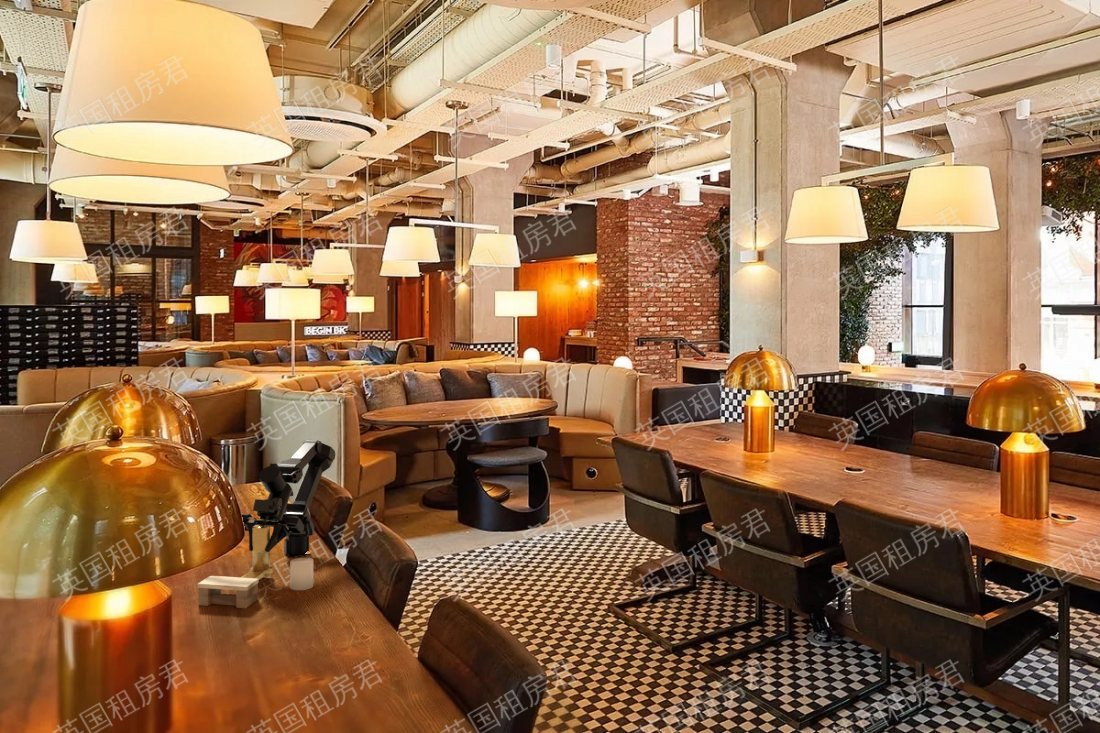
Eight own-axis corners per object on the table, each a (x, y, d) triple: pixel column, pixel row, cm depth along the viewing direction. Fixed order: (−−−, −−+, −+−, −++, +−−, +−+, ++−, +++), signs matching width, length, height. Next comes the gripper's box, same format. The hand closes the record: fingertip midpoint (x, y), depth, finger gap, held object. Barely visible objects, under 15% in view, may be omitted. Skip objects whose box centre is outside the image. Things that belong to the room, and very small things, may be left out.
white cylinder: (309, 581, 208) (309, 556, 208) (316, 587, 203) (316, 562, 203) (287, 584, 205) (287, 559, 204) (293, 591, 200) (293, 566, 199)
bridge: (210, 596, 195) (210, 575, 195) (258, 599, 194) (258, 578, 193) (197, 605, 189) (197, 583, 189) (246, 608, 188) (246, 586, 188)
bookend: (256, 568, 212) (256, 523, 211) (276, 569, 211) (276, 524, 210) (235, 582, 200) (234, 535, 200) (256, 584, 200) (256, 536, 199)
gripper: (236, 485, 212) (215, 534, 202) (299, 488, 210) (281, 538, 200) (250, 505, 220) (230, 554, 210) (311, 508, 218) (294, 558, 208)
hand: (258, 551), depth 207 cm, fingers closed on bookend, 4 cm apart
